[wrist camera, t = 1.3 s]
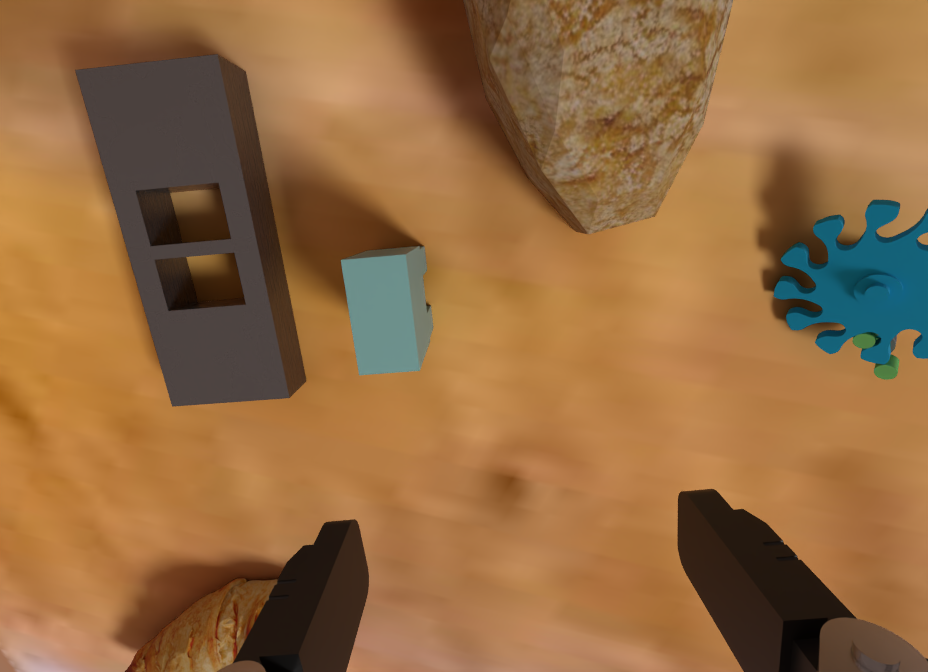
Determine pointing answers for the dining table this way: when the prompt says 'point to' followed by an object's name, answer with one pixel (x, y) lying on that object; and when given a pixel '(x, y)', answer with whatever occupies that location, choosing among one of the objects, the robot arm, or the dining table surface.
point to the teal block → (388, 309)
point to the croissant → (206, 631)
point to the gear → (864, 287)
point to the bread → (599, 95)
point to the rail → (164, 255)
